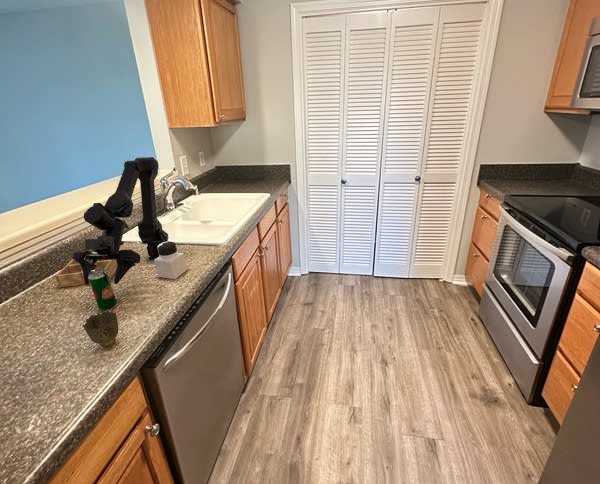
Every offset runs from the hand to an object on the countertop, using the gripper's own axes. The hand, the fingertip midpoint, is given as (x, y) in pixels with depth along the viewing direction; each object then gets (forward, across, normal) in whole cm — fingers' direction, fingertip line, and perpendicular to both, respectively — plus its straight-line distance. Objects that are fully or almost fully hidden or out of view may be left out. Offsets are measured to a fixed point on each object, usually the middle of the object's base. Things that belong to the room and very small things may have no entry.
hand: (100, 284), depth 97 cm
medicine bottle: (-8, +12, +20) cm, 25 cm away
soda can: (+6, 0, +6) cm, 8 cm away
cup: (+18, +11, -6) cm, 22 cm away
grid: (-9, -19, +20) cm, 29 cm away
